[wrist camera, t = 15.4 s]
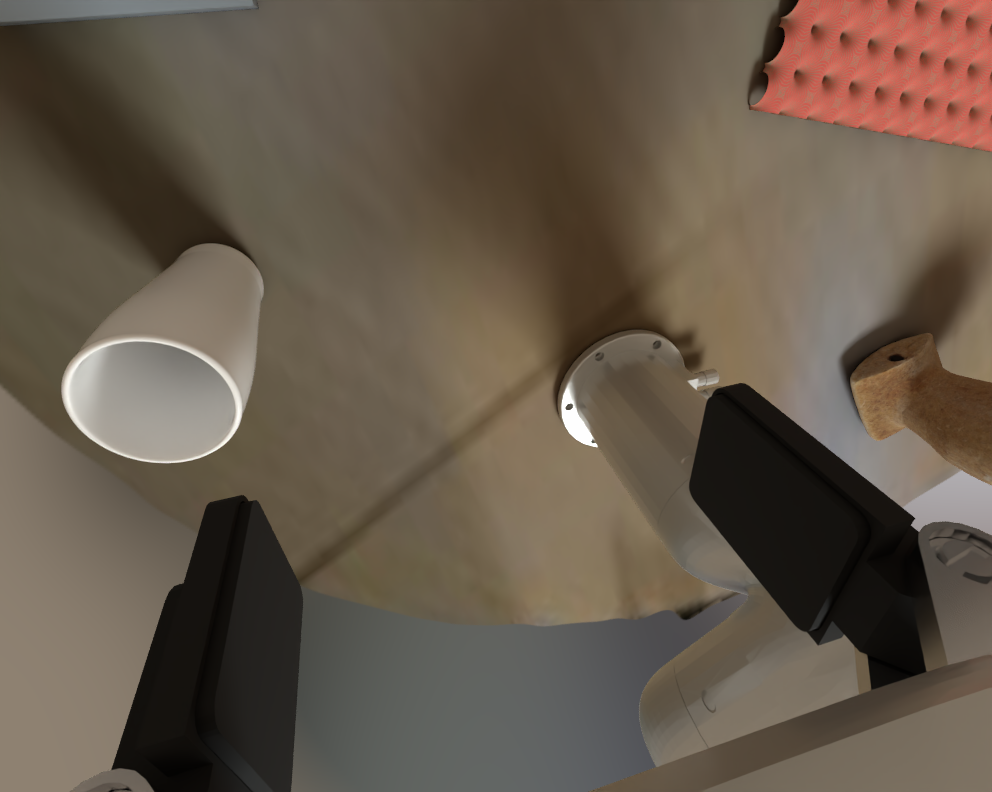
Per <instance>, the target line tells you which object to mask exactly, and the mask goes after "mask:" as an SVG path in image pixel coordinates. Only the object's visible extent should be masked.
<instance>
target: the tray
mask: <svg viewBox="0 0 992 792" xmlns="http://www.w3.org/2000/svg"><path fill="white" fill-rule="evenodd" d="M245 9H259V7H258V3H257V0H0V26H8V25H23V24H38V23H53V22H67V21H82V20H97V19H112V18H127V17H141V16H156V15H171V14H186V13H201V12H215V11H230V10H245Z"/></svg>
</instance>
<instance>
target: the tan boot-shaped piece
mask: <svg viewBox="0 0 992 792" xmlns="http://www.w3.org/2000/svg"><path fill="white" fill-rule="evenodd" d="M850 384H851V388H852V393H853V397H854V400H855V403H856V406H857V408H858V412H859V415H860V417H861V420H862V423H863V425H864V427H865V429H866V431H867V433H868V434H869V435H870V437H872V438H873V439H875V440H876V441H878V440H883V439H885V438H887V437H889V436H891V435H893V434H895V433H897V432H898V431H900V430H902V429H904V428H905V427H906V428H909V429H911V430H912V431H913V432H915V433H916V434H917V435H919V436H920V437H921V438H922V439H923V440H925V441H926V442H927V443H928V444H930V445H931V446H932V447H933V448H934V449H935V450H936V452H937V453H938V454H940V455H941V456H942V457H943V458H944V459H945V460H946V461H948V462H949V463H951V464H952V465H954V466H956V467H958V468H959V469H961V470H963V471H964V472H966V473H968V474H970V475H971V476H973V477H975V478H977V479H979V480H981V481H983V482H985V483H988V484H990V485H992V383H990V382H985V381H981V380H977V379H972V378H968V377H964V376H959V375H956V374H953V373H950V372H949V371H947V370H945V369H944V368H943V367H942V364H941V361H940V358H939V355H938V352H937V350H936V347H935V343H934V339H933V335H932V334H930V333H923V334H919V335H917V336H913V337H909V338H905V339H902V340H900V341H897V342H894V343H891V344H889V345H887V346H885V347H882V348H880V349H879V350H878V351H876V352H874V353H873V354H871V355H870V356H869V357H867V358H866V359H865V360H864V361H863V362H862V363H861V364H859V366H858V367H857V368H856V369H855V371H854V372H853V373H852V375H851V377H850Z"/></svg>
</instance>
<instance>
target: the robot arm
mask: <svg viewBox="0 0 992 792" xmlns="http://www.w3.org/2000/svg"><path fill="white" fill-rule="evenodd" d="M718 381H719V375H718V372H717V371H716V370H715V369H710V370H706V371H701V372H699V373H695V374H694V373H692V372H690V371H688V370H687V369H686V368H685V366H684V361H683V358H682V356H681V354H680V352H679V350H678V349H677V348H676V347H675V346H674V344H673V343H672V342H670V341H669V340H668V339H667V338H665V337H664V336H662V335H660V334H658V333H656V332H652V331H648V330H628V331H623V332H618V333H616V334H613V335H610V336H608V337H605V338H604V339H602V340H600V341H598V342H597V343H595V344H593V345H592V346H591V347H590V348H588V349H587V350H586V351H584V352H583V353H582V354H581V355H580V356H579V357H578V358H577V359H576V361H575V362H574V363H573V364H572V366H571V367H570V369H569V370H568V371H567V373H566V375H565V377H564V379H563V381H562V383H561V386H560V390H559V394H558V412H559V416H560V419H561V421H562V423H563V425H564V426H565V428H566V429H567V431H568V432H569V434H570V435H572V436H573V437H574V438H575V439H576V440H578V441H580V442H581V443H583V444H586V445H589V446H594V447H598V448H599V450H600V451H601V453H602V454H603V456H604V457H605V459H606V460H607V462H608V463H609V465H610V466H611V467H612V469H613V470H614V472H615V473H616V475H617V476H618V478H619V479H620V481H621V482H622V484H623V485H624V487H625V488H626V490H627V491H628V493H629V494H630V496H631V497H632V499H633V500H634V502H635V503H636V505H637V506H638V508H639V509H640V511H641V512H642V514H643V515H644V517H645V518H646V520H647V521H648V523H649V524H650V526H651V527H652V529H653V530H654V532H655V533H656V535H657V536H658V538H659V539H660V541H661V542H662V543H663V545H664V546H665V548H666V549H667V551H668V552H669V554H670V555H671V556H672V558H673V559H674V560H675V561H676V562H677V563H678V564H679V565H680V566H681V567H682V568H683V569H684V570H686V571H687V572H688V573H690V574H691V575H693V576H694V577H696V578H698V579H700V580H702V581H704V582H707V583H709V584H712V585H715V586H718V587H721V588H724V589H728V590H732V591H735V592H739V593H743V594H747V595H748V598H747V600H746V601H745V603H744V604H743V605H742V606H740V607H739V608H738V609H737V610H735V611H734V612H733V613H732V614H731V615H730V617H729V618H728V619H726V620H725V621H723V622H722V623H721V624H719V625H718V626H717V627H715V628H714V629H713V630H711V631H710V632H709V633H707V634H706V635H705V636H703V637H702V638H700V639H699V640H698V641H696V642H695V643H694V644H692V645H691V646H689V647H688V648H687V649H685V650H684V651H683V652H682V653H680V654H679V655H677V656H676V657H675V658H674V659H672V660H671V661H669V662H668V663H667V664H665V665H664V666H663V667H662V668H661V669H660V670H659V671H657V672H656V673H655V674H654V676H653V677H652V678H651V679H650V680H649V682H648V683H647V684H646V686H645V688H644V691H643V693H642V695H641V700H640V704H639V705H640V706H639V718H640V724H641V729H642V733H643V737H644V739H645V742H646V745H647V748H648V750H649V752H650V755H651V757H652V759H653V761H654V763H655V765H656V768H653V769H650V770H647V771H644V772H642V773H639V774H636V775H634V776H631V777H628V778H625V779H623V780H620V781H617V782H614V783H611V784H609V785H606V786H603V787H600V788H597V789H595V790H592V791H589V792H992V536H991V535H989V534H987V533H985V532H983V531H981V530H979V529H976V528H973V527H970V526H967V525H964V524H960V523H953V522H933V523H930V524H928V525H925V526H924V527H923V528H922V529H921V530H920V532H918V531H917V530H916V529H914V528H913V527H912V526H911V524H912V522H913V521H914V519H915V518H914V517H913V516H912V515H910V514H909V513H908V512H907V511H905V510H904V509H903V508H902V507H900V506H899V505H898V504H897V503H895V502H894V501H893V500H892V499H890V498H889V497H888V496H887V495H885V494H884V493H883V492H882V491H880V490H879V489H878V488H877V487H875V486H874V485H873V484H872V483H870V482H869V481H868V480H867V479H865V478H864V477H863V476H862V475H860V474H859V473H858V472H856V471H855V470H854V469H853V468H851V467H850V466H849V465H848V464H846V463H845V462H844V461H843V460H841V459H840V458H839V457H838V456H836V455H835V454H834V453H833V452H831V451H830V450H829V449H828V448H826V447H825V446H824V445H823V444H821V443H820V442H819V441H818V440H816V439H815V438H814V437H813V436H811V435H810V434H809V433H808V432H806V431H805V430H804V429H802V428H801V427H800V426H799V425H797V424H796V423H795V422H794V421H792V420H791V419H790V418H789V417H787V416H786V415H785V414H784V413H782V412H781V411H780V410H779V409H777V408H776V407H775V406H774V405H772V404H771V403H770V402H769V401H767V400H766V399H765V398H764V397H762V396H761V395H760V394H759V393H757V392H756V391H755V390H754V389H752V388H751V387H750V386H748V385H746V384H744V383H739V384H735V385H730V386H726V387H721V386H717V387H713V388H708V389H704V390H701V391H699V392H698V391H697V387H699V386H706V385H711V384H715V383H718ZM302 610H303V597H302V591H301V587H300V584H299V582H298V580H297V578H296V576H295V574H294V572H293V570H292V568H291V566H290V564H289V562H288V560H287V558H286V556H285V554H284V552H283V550H282V548H281V546H280V544H279V542H278V540H277V538H276V536H275V534H274V532H273V530H272V528H271V526H270V524H269V522H268V520H267V518H266V516H265V514H264V512H263V510H262V508H261V506H260V504H259V502H258V501H257V500H254V501H248V499H247V498H246V497H245V496H244V495H240V496H236V497H232V498H227V499H223V500H218V501H214V502H210V503H209V504H208V505H207V507H206V509H205V512H204V516H203V519H202V522H201V526H200V529H199V533H198V536H197V540H196V543H195V546H194V550H193V553H192V557H191V560H190V563H189V567H188V570H187V574H186V577H185V580H184V583H183V584H179V585H176V586H174V587H173V588H172V589H171V590H170V592H169V593H168V596H167V598H166V600H165V603H164V606H163V609H162V612H161V615H160V619H159V622H158V625H157V628H156V631H155V634H154V637H153V641H152V644H151V647H150V650H149V653H148V656H147V660H146V663H145V666H144V669H143V672H142V675H141V679H140V682H139V685H138V688H137V691H136V694H135V697H134V700H133V704H132V707H131V710H130V713H129V716H128V719H127V723H126V726H125V729H124V732H123V735H122V738H121V741H120V745H119V748H118V751H117V754H116V757H115V760H114V763H113V767H112V770H110V771H105V772H101V773H99V774H98V775H96V776H93V777H91V778H89V779H88V780H86V781H84V782H82V783H80V784H79V785H78V786H77V787H75V788H74V789H73V790H71V791H70V792H291V783H292V768H293V752H294V736H295V720H296V705H297V689H298V673H299V656H300V642H301V626H302Z"/></svg>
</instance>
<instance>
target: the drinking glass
mask: <svg viewBox="0 0 992 792" xmlns="http://www.w3.org/2000/svg"><path fill="white" fill-rule="evenodd" d="M263 294H264V285H263V280H262V277H261V274H260V272H259V270H258V268H257V267H256V266H255V264H254V263H253V262H252V261H251V260H250V259H249V258H248V257H247V256H246V255H244V254H243V253H242V252H240V251H238V250H236V249H234V248H232V247H229V246H226V245H222V244H217V243H205V244H199V245H196V246H193V247H191V248H189V249H187V250H186V251H184V252H183V253H182V254H181V255H180V256H179V257H178V258H177V259H176V261H175V262H174V263H173V264H171V265H170V266H169V267H168V268H167V269H165V270H164V271H163V272H162V273H160V274H159V275H158V276H157V277H155V278H154V279H153V280H151V281H150V282H149V283H148V284H146V285H145V286H144V287H142V288H141V289H140V290H139V291H137V292H136V293H135V294H133V295H132V296H131V297H130V298H128V299H127V300H126V301H124V302H123V303H122V304H121V305H119V306H118V307H117V308H116V309H115V310H114V311H113V312H111V313H110V314H109V315H108V316H107V317H106V318H105V319H104V320H103V321H102V322H101V323H100V325H99V326H98V327H97V328H96V329H95V330H94V331H93V332H92V334H91V335H90V336H89V337H88V339H87V340H86V341H85V342H84V344H83V345H82V346H81V348H80V349H79V351H78V352H77V353H76V355H75V356H74V357H73V359H72V360H71V361H70V363H69V364H68V366H67V368H66V370H65V372H64V375H63V379H62V386H61V392H62V399H63V403H64V406H65V408H66V411H67V412H68V414H69V416H70V418H71V419H72V421H73V422H74V423H75V425H76V426H77V427H78V428H79V429H80V430H81V431H82V432H83V433H84V434H85V435H86V436H88V437H89V438H90V439H91V440H93V441H94V442H96V443H97V444H99V445H100V446H102V447H104V448H106V449H108V450H110V451H112V452H114V453H117V454H119V455H122V456H125V457H128V458H131V459H135V460H140V461H145V462H153V463H177V462H185V461H190V460H194V459H197V458H200V457H203V456H206V455H208V454H210V453H212V452H214V451H216V450H217V449H219V448H220V447H222V446H223V445H224V444H225V443H226V442H228V440H229V439H230V438H231V437H232V436H233V435H234V433H235V432H236V430H237V428H238V426H239V424H240V421H241V418H242V415H243V412H244V410H245V407H246V404H247V401H248V398H249V395H250V391H251V387H252V383H253V379H254V373H255V366H256V356H257V343H258V329H259V317H260V306H261V302H262V299H263Z"/></svg>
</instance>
